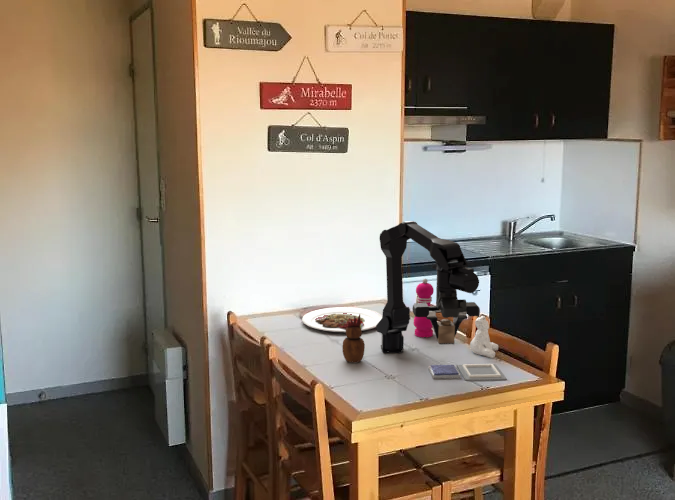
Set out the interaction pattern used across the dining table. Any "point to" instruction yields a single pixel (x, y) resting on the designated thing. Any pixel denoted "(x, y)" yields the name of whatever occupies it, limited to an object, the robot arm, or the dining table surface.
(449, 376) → the ink pad
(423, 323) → the pepper mill
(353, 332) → the wooden figurine
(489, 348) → the seated beast figurine
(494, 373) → the board
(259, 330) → the dining table surface
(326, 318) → the plated food
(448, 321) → the stamp
